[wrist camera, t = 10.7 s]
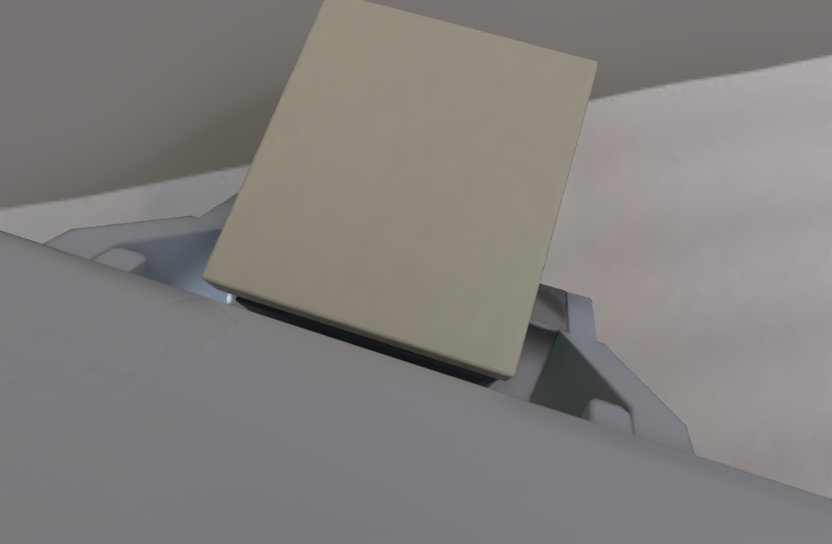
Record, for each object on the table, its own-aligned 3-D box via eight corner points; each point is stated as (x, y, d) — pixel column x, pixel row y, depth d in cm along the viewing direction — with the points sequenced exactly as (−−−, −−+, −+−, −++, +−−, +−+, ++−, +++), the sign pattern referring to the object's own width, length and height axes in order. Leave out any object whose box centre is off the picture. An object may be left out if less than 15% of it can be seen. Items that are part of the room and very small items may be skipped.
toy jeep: (352, 183, 17) (293, -40, 9) (538, 238, 16) (650, 52, 9) (245, 463, 15) (41, 495, 7) (456, 536, 14) (503, 665, 6)
